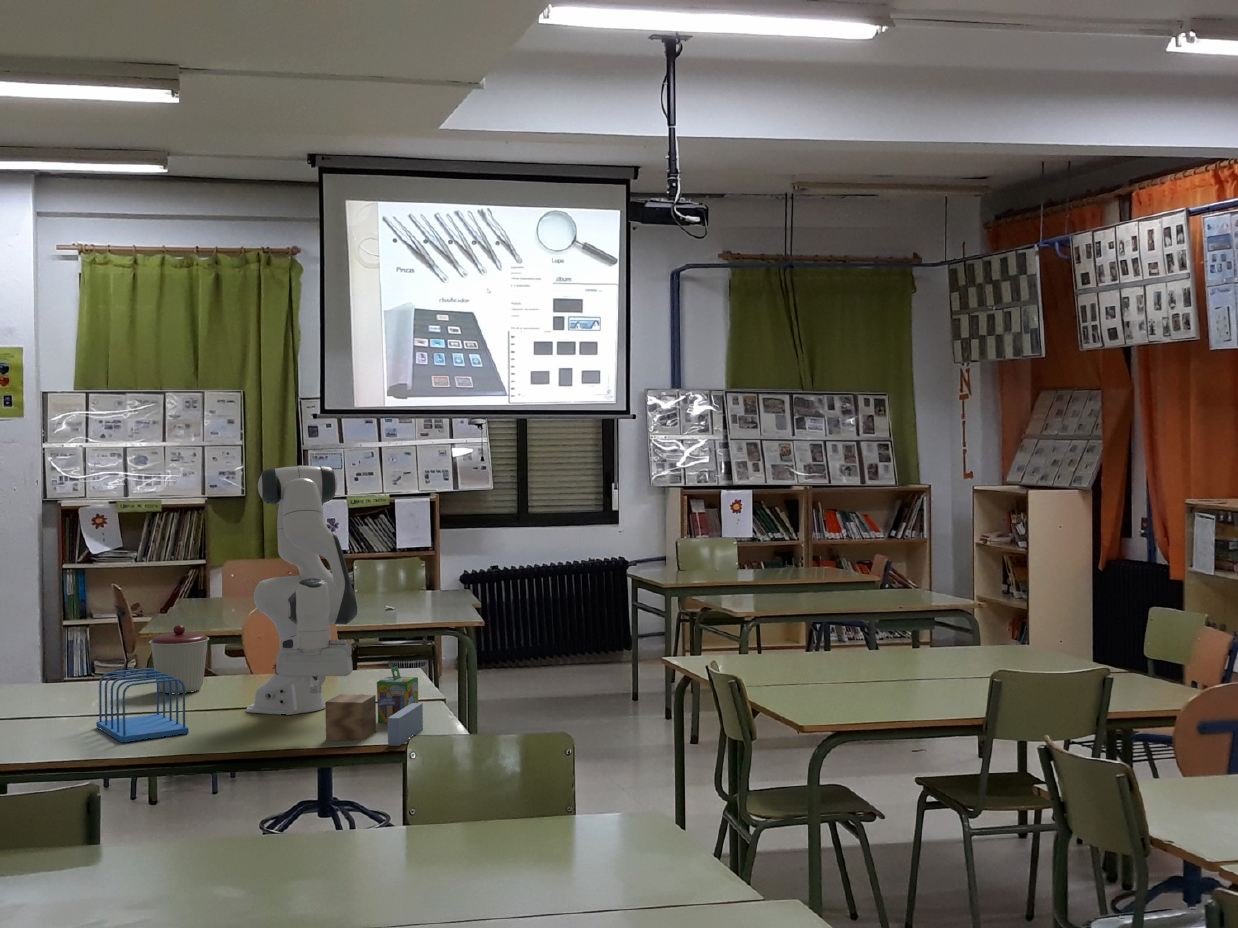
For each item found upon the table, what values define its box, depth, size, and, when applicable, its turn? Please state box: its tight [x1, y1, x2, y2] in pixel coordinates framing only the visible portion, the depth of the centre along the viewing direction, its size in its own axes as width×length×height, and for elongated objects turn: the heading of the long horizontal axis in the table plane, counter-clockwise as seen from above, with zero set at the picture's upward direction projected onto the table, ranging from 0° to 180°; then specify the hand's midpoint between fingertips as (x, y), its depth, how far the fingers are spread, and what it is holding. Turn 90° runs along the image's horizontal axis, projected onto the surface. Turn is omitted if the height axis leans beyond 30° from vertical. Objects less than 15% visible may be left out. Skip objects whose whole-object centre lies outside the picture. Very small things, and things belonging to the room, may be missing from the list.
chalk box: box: [376, 665, 419, 724], centre depth 347 cm, size 9×9×15 cm
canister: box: [148, 624, 210, 693], centre depth 394 cm, size 18×18×21 cm
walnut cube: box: [324, 693, 377, 742], centre depth 328 cm, size 10×10×10 cm
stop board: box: [387, 702, 424, 747], centre depth 326 cm, size 3×19×7 cm, turn 171°
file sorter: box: [95, 667, 190, 743], centre depth 337 cm, size 25×17×15 cm
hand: (315, 692), depth 329 cm, fingers closed
